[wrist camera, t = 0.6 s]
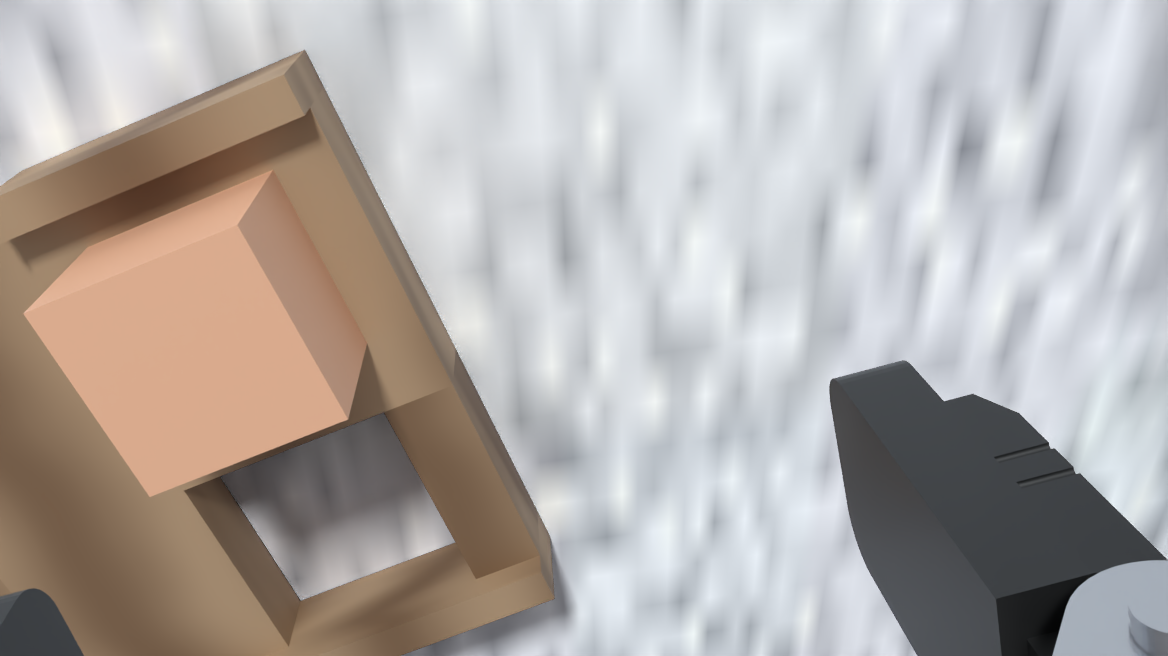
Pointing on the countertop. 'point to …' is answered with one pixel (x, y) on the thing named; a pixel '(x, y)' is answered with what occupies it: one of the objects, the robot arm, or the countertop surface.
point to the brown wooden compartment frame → (206, 507)
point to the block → (205, 335)
